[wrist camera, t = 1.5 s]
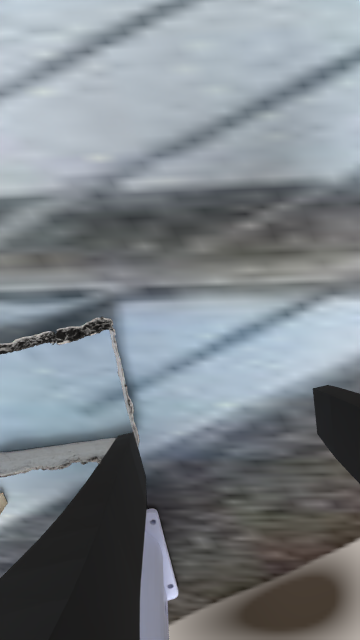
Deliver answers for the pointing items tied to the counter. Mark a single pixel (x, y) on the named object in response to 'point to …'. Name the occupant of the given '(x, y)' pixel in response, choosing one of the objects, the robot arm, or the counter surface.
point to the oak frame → (2, 502)
